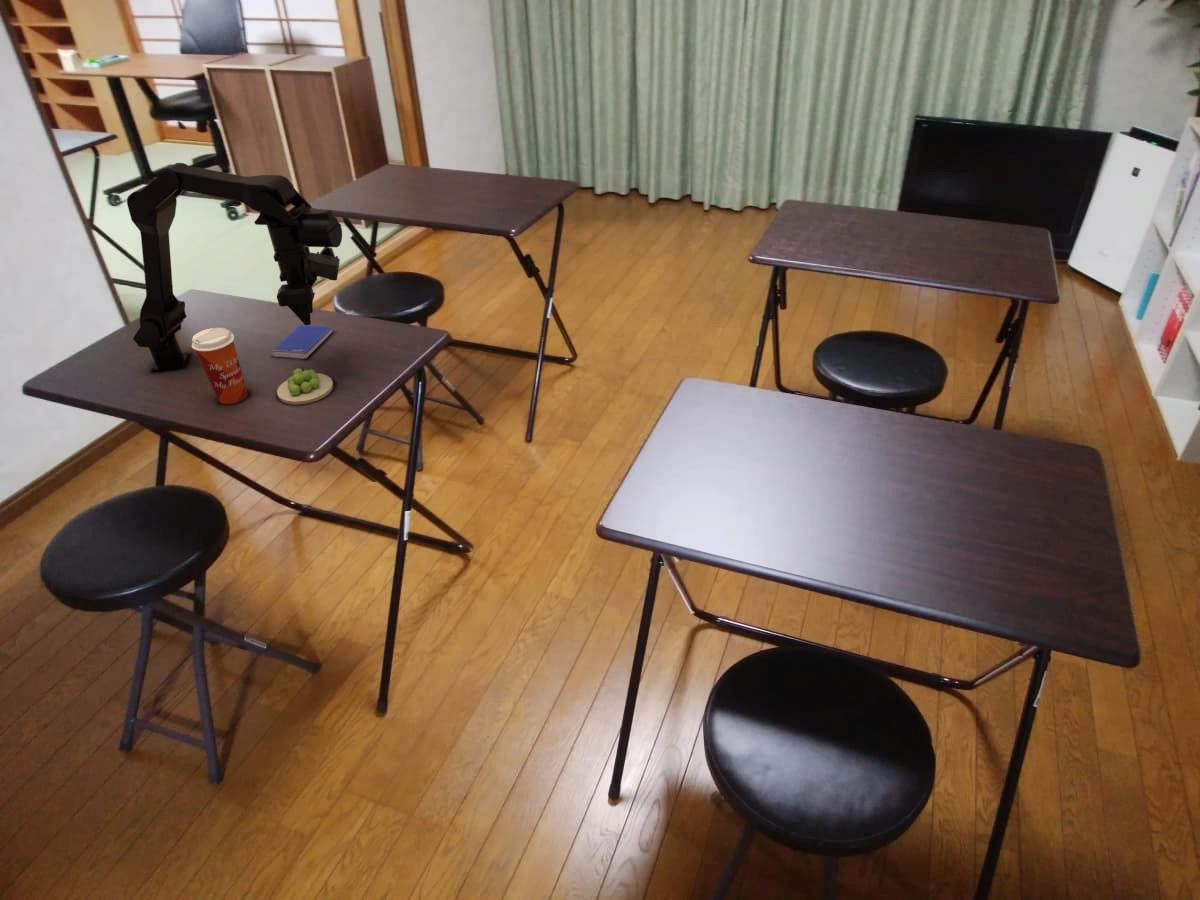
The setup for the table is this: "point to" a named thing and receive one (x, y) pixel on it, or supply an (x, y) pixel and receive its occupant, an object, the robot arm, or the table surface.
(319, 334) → the blue book
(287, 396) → the grape saucer
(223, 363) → the paper cup
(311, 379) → the green grapes
